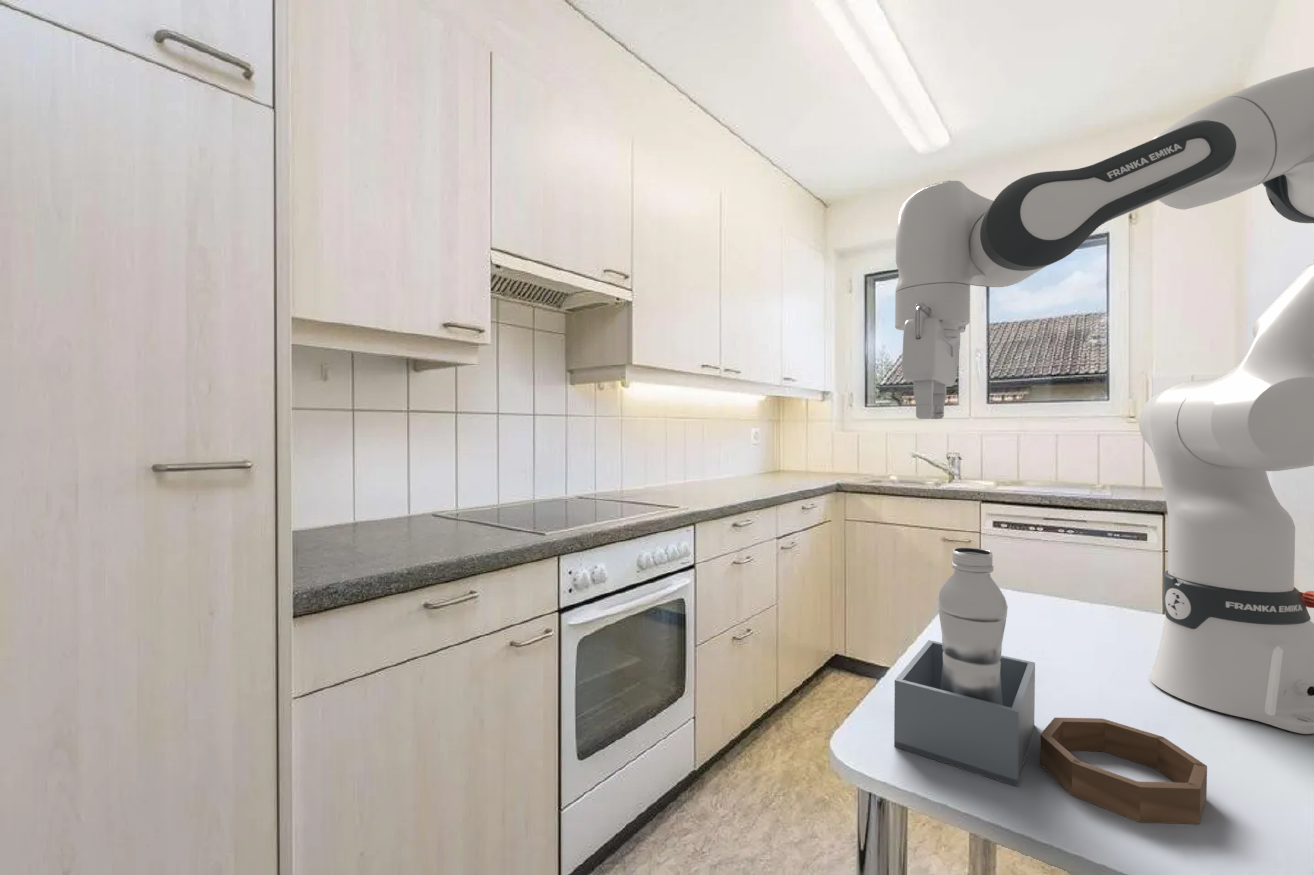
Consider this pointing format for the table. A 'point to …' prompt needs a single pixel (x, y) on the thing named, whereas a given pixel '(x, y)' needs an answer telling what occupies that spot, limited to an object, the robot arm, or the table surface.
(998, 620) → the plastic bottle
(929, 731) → the bin
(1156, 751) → the collar
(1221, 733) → the table surface
